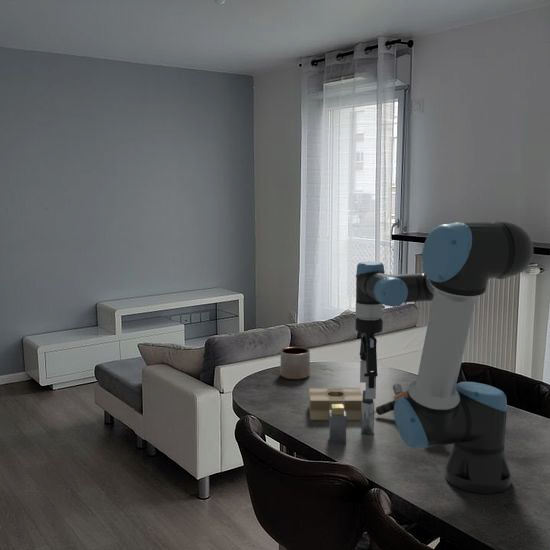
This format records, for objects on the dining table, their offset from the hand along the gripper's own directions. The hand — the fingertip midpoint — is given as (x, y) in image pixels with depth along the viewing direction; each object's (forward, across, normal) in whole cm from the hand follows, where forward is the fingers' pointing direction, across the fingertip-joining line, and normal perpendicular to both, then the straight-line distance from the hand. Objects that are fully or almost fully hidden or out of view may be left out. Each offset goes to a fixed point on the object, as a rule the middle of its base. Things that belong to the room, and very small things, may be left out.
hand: (367, 390), depth 183 cm
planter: (+14, +53, +20) cm, 58 cm away
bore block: (+13, +15, +8) cm, 21 cm away
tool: (+10, +8, -13) cm, 18 cm away
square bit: (+12, -6, +9) cm, 16 cm away
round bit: (+12, -1, 0) cm, 12 cm away
